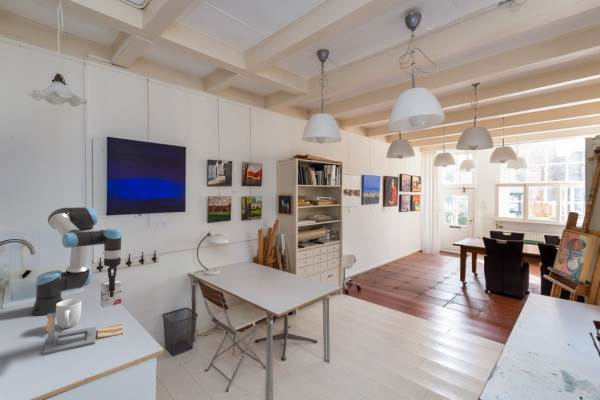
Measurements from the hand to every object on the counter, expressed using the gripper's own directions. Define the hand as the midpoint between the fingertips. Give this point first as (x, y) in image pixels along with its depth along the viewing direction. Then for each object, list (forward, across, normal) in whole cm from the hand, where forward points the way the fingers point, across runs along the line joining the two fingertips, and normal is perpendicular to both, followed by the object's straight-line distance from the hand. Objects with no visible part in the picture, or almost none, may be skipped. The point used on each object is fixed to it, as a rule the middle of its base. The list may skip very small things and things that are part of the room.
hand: (111, 300), depth 152 cm
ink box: (+2, 0, 0) cm, 2 cm away
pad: (+17, 0, 0) cm, 17 cm away
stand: (+17, +1, -16) cm, 23 cm away
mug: (+17, -18, -19) cm, 31 cm away
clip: (+3, +9, -24) cm, 25 cm away
